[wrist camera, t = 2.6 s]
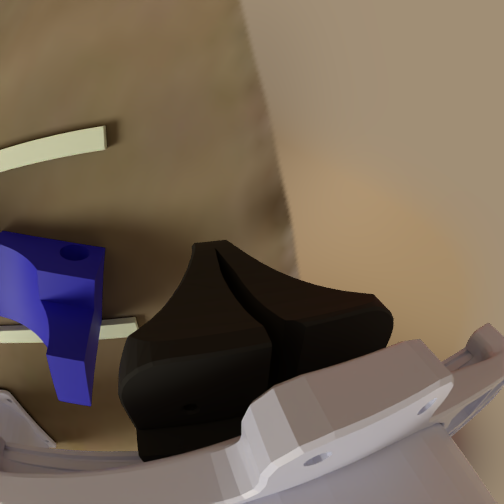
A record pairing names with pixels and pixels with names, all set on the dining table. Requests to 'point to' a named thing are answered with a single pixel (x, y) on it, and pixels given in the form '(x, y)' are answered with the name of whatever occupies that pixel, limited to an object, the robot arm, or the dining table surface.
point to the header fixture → (46, 151)
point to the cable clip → (56, 304)
